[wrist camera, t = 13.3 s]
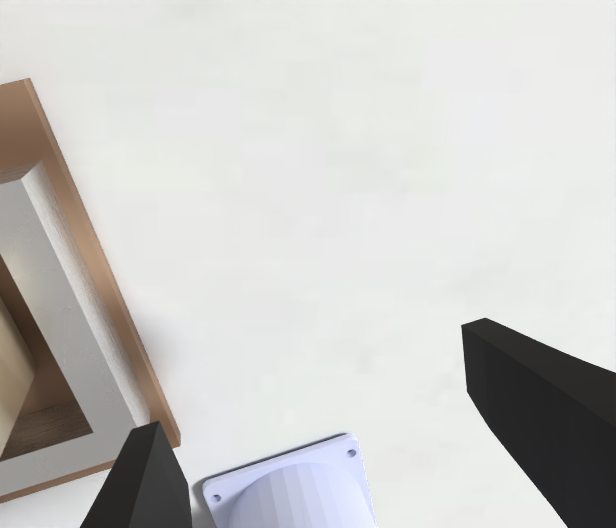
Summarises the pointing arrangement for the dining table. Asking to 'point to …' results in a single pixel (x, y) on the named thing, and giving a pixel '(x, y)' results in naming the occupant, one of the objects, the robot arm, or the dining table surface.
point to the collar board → (63, 317)
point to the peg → (12, 373)
